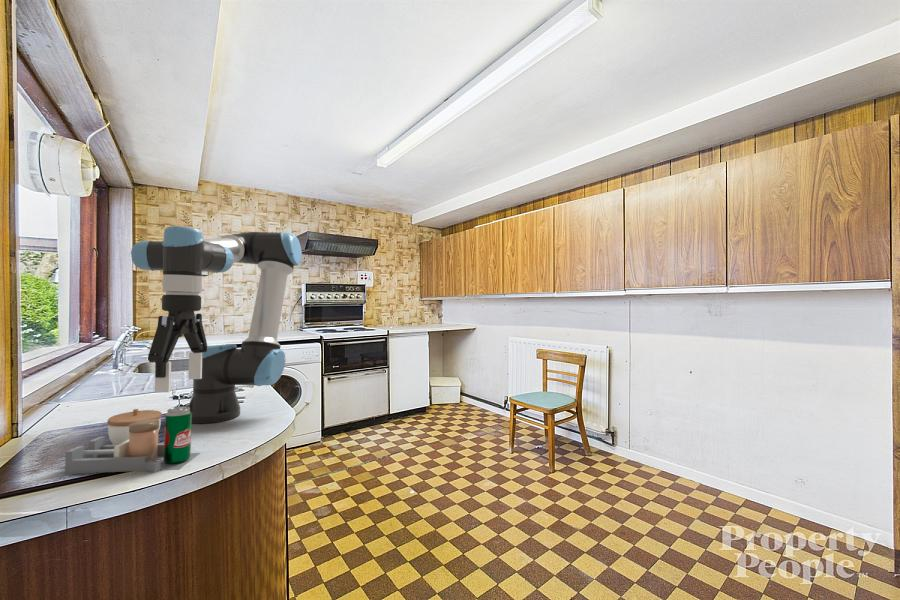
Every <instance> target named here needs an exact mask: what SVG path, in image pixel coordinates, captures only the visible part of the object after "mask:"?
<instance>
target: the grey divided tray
mask: <svg viewBox="0 0 900 600" xmlns="http://www.w3.org/2000/svg"><path fill="white" fill-rule="evenodd" d="M117 445H119V444H115V445H114V444H106V436H104V435H101V436H97V437H95V438H93V439H91V440H89V441H88V450H108V449H114V447H115V446H117ZM84 450H85V446H84V445H77V446H76V447H73V448H71V449H69V450H66V451H65V462H64V464H65V466H64V470H65V471H64V475H65V474H89V473H90V474H91V473H92V474H94V473H96V472H98V473H116V472H118V473H119V472H120V473H121V472H144V471H145V472H151V473H156V472H159V471H175V470H176V471H177V470H181V469H182V468H183V467H184V466H185V467H186V465H187V464H189V462H190V463H191V461H192V460H194V459H195V458H196V457H197V456H199V455H200V454H201V452H191V453H190V458H189V459H188V460H187V461H185V462H182V463H179V464H166V463H165V462H164V461H152V460H148V456H145V457H114V454H99V455H87V458H85V455H84ZM158 459H161V460H163V459H164V442H161V443H160V442H158V457H157V460H158Z"/></svg>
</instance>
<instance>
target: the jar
mask: <svg viewBox="0 0 900 600" xmlns="http://www.w3.org/2000/svg"><path fill="white" fill-rule="evenodd" d="M158 429H159V420H157V419H148V420H140V421H136V422H133V423H131V424H129V457H145V456H148V460H152V461H157V457H158V443H159V432H158ZM159 430H160V429H159Z"/></svg>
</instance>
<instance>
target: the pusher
mask: <svg viewBox="0 0 900 600" xmlns="http://www.w3.org/2000/svg"><path fill="white" fill-rule="evenodd" d="M99 454H114V457H129V440H127V441H125V442H123V443H121V444H119V445H117V446H115V447H114V449H108V450H89V449H84V456H88V455H99Z"/></svg>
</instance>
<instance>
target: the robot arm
mask: <svg viewBox="0 0 900 600" xmlns="http://www.w3.org/2000/svg"><path fill="white" fill-rule="evenodd" d="M163 231H164V232H163V241H162V240H160V241H159V240H158V241H156V240H155V241H154V240H141V241H138V242H136V243H134V244H133V246H132V248H131V250H130V255H131V256H130V257H131V262H132V263H133V265H135V267H136V268H138V269H140V270H143V271H151V272H153V271H162V279H161V283H162V292H163V293H165V294H163V295H162V296H161V309H162V311H165V312H168V315H158V318H157V327H156V330H155V333H154V337H153V339H152V343H151V346H150V348H149V351H148V356H147V361H148V362H149V363H155V365H154V393H156V394H157V393H170V392H171V389H172V388H171V387H172V386H171V385H172V361H169V360H170V358H171V356H172V354H173V351H174V349H175V347H176V345H177V342H178V340H179V339H180V338H181V337H182V336H184V338H185V341H186V343H187V344H188V347H189V349H190V351H191V352H189V353H188V380H193V382H192V383H193V385H192V386H193V387H192V388H193V389H192V397H191V398H190V401H189V404H188V406H187V407H190V410H191V411H192V424H212V423H218V422H219V423H220V422H225V421H228V420H231V419H235V418H238V417H239V416H240V415H241V404H240V401H239V400H238V396H237V394H236V386H257V387H262V386H272V385H274V384H275V383H277V382H278V381H279V380H280V378H281V376H282V374H283V372H284V369H285V366H286V353H285V352H284V350H282V349H281V344H280V343H279V342H278V335H279V334H278V333H279V328H280V323H281V316H282V311H283V304H284V298H285V294H286V293H285V292H286V287H287V282H288V281H287V280H288V276H289V275H290V274H293V272H294V267H297V266H299V265H301V263H302V260H303V259H302V257H303V253H302V247H301V243H300V241H299V238H298V237H297V235H295V234H294V233H291V232H284V231H281V232H275V231H274V232H272V231H271V232H269V231H267V232H265V231H246V232H240V233H234V234H232V233H231V234H224V235H222V236H220V238H215V237H214V238H204V235H203V232H202V231H201V230H200V229H199V228H194V227H188V226H179V225H177V226H176V225H175V226H174V225H173V226H168V227H166V228H165V229H164V230H163ZM235 263H240V264H250V265H257V267H258V268H259V270H260V276H259V281H258V286H257V291H256V296H255V301H254V302H255V303H254V307H253V311H252V317H251V321H250V326H249V327H250V328H249V332H248V337H247V338H245V339H244V340H242V342H241V346H240V348H238V347H237V344H236V343H229V344H228V343H227V344H221V345H220V344H217V345H211V346H208V342H207V338H206V334H205V330H204V329H205V328H204V326H203V318H202V317H203V315H202V313H195V312H199V311H201V310H202V296H201V295H199V294H201V293H202V292H203V275H202V273H203V272H208V273H213V274H215V273H216V274H219V273H226V272H227V271H229V270H230V269H231V268H232V267H233V264H235Z"/></svg>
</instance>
